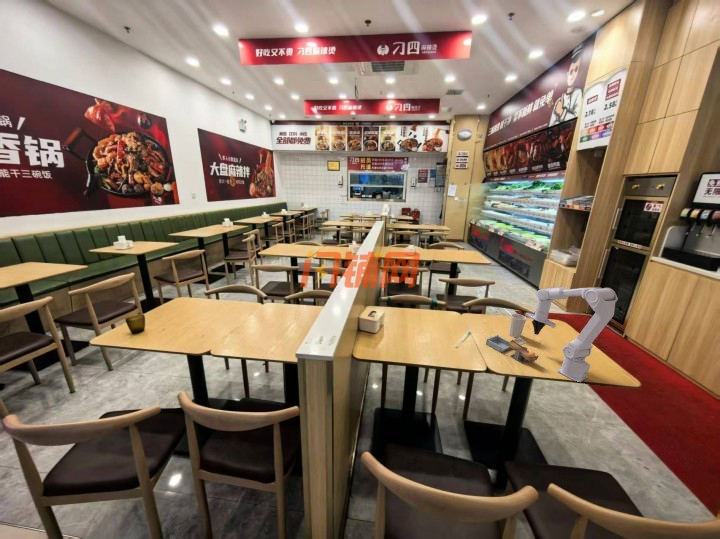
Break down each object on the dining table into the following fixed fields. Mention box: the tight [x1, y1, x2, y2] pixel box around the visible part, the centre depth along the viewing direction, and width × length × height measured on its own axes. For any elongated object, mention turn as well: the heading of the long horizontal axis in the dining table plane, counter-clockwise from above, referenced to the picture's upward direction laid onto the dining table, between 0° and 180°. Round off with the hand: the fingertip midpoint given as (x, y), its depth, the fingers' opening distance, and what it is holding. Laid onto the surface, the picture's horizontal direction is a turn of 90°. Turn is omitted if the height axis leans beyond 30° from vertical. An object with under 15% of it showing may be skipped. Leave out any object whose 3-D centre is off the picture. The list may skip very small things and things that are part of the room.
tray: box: [485, 334, 512, 353], centre depth 153 cm, size 9×9×4 cm
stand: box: [509, 346, 529, 364], centre depth 143 cm, size 6×7×5 cm
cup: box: [508, 313, 528, 339], centre depth 164 cm, size 8×8×12 cm
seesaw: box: [506, 337, 539, 363], centre depth 144 cm, size 14×12×2 cm
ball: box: [528, 351, 537, 358], centre depth 138 cm, size 3×3×3 cm
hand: (536, 333), depth 149 cm, fingers closed
